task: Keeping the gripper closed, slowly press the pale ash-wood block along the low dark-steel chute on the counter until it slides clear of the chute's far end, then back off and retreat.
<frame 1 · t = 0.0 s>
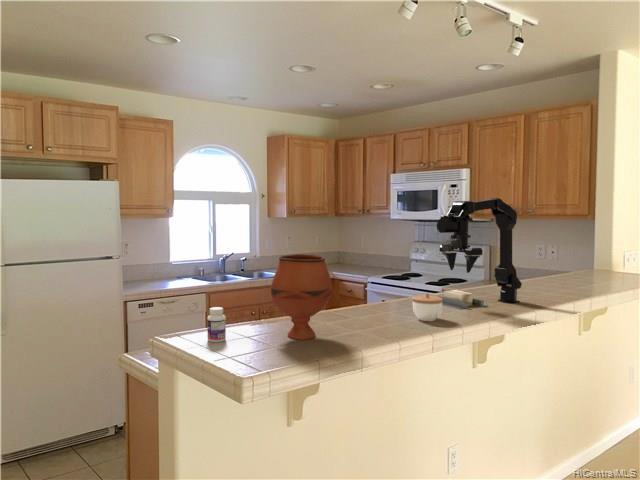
hand: (459, 271, 206), 15 cm above the countertop, fingers open, 9 cm apart
lidded jar: (427, 319, 185), on the countertop
pill bottle: (216, 340, 154), on the countertop
ash block: (458, 304, 214), on the countertop
goblet: (301, 336, 160), on the countertop
chute: (459, 304, 214), on the countertop
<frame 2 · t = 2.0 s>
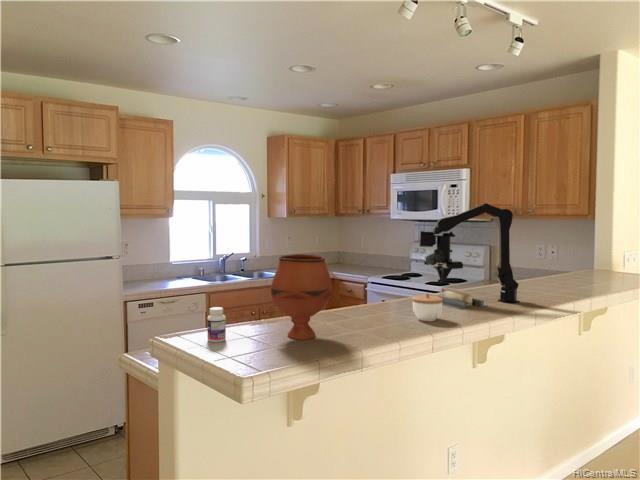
hand: (442, 282, 223), 7 cm above the countertop, fingers closed
nothing on the countertop moved.
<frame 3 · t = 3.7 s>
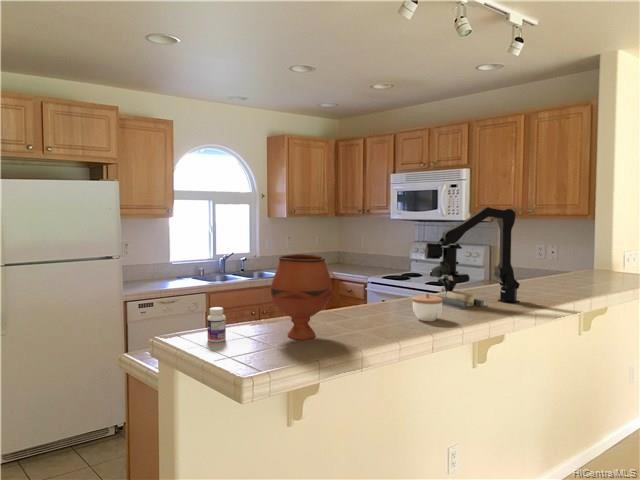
hand: (448, 295, 219), 3 cm above the countertop, fingers closed
nothing on the countertop moved.
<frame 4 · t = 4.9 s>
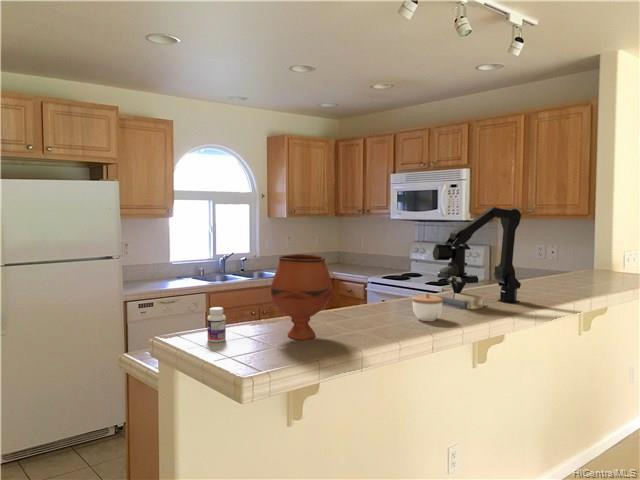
hand: (456, 297, 215), 3 cm above the countertop, fingers closed
ash block: (468, 306, 210), on the countertop
everything else where it was.
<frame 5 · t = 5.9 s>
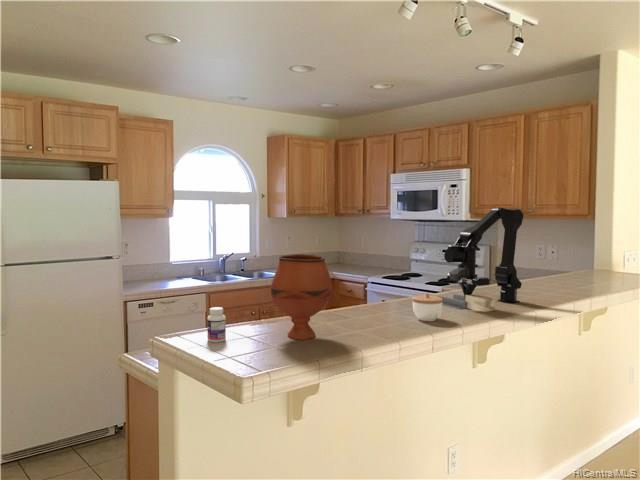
hand: (467, 299, 210), 3 cm above the countertop, fingers closed
ash block: (479, 308, 205), on the countertop, touching gripper
everything else where it was.
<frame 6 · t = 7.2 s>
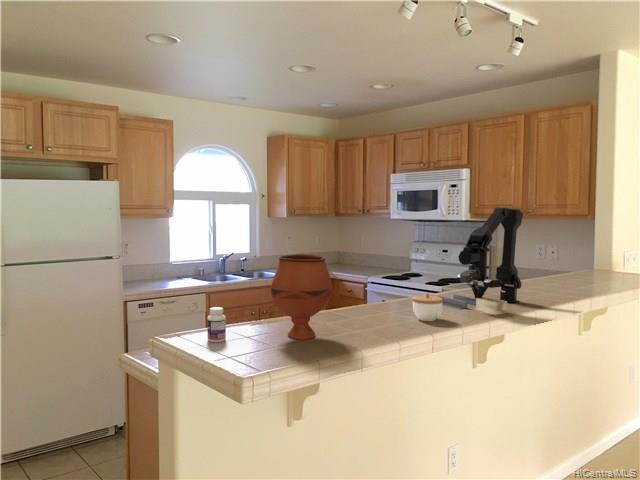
hand: (477, 302, 205), 3 cm above the countertop, fingers closed
ash block: (490, 312, 199), on the countertop, touching gripper
everything else where it was.
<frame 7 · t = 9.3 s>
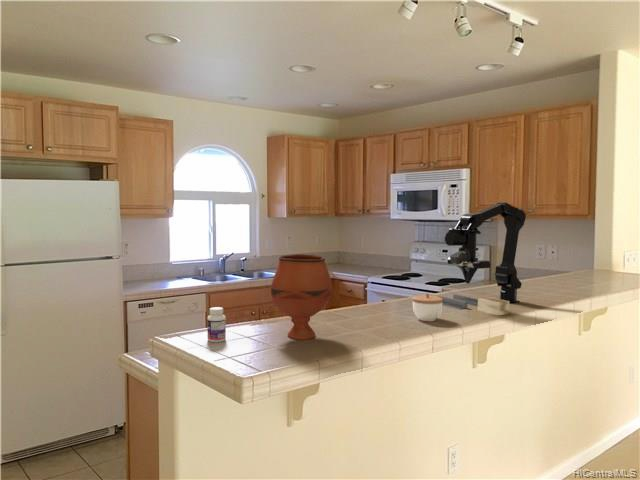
hand: (467, 283, 209), 9 cm above the countertop, fingers closed
ash block: (493, 312, 199), on the countertop
everything else where it was.
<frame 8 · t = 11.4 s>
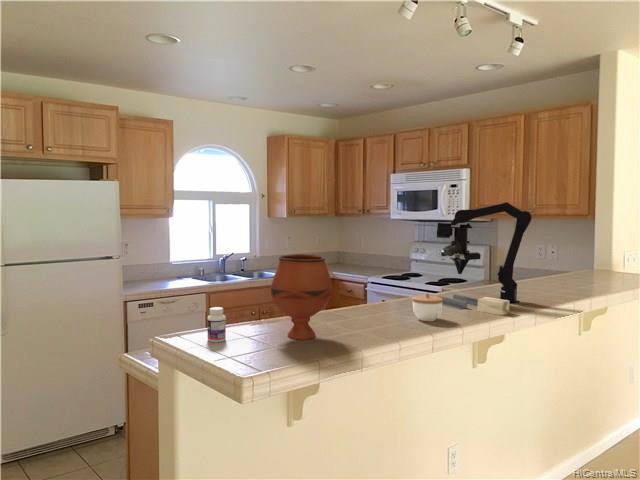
hand: (459, 274, 224), 11 cm above the countertop, fingers closed
at the end: ash block inside the target area (0.5 cm from its centre), on the countertop; ash block tilted 0°; the gripper is holding nothing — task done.
